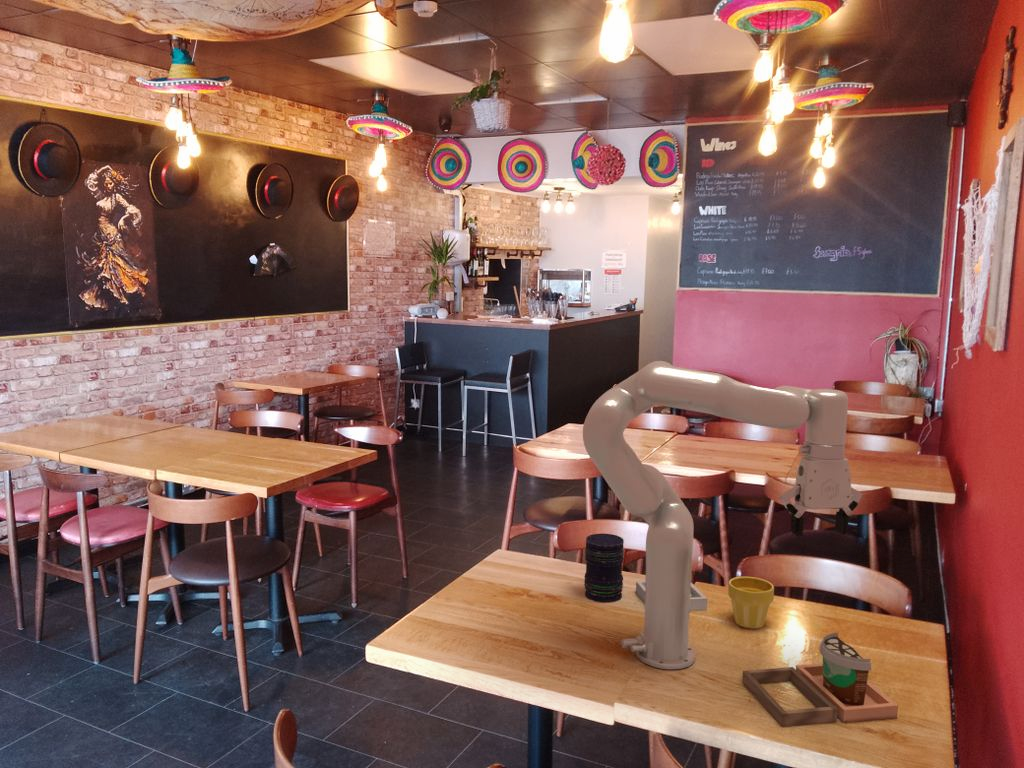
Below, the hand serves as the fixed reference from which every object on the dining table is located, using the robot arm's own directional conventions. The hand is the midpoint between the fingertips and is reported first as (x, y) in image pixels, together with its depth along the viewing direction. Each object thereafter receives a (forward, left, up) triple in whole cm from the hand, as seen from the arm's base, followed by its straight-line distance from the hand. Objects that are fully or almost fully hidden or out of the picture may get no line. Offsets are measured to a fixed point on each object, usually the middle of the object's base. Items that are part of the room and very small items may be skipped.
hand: (818, 533), depth 158 cm
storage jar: (-31, +46, -31) cm, 63 cm away
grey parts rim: (-15, +40, -30) cm, 52 cm away
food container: (0, -9, -30) cm, 31 cm away
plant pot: (-1, +25, -31) cm, 39 cm away
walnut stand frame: (-10, -9, -30) cm, 33 cm away
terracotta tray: (+2, -9, -30) cm, 32 cm away
